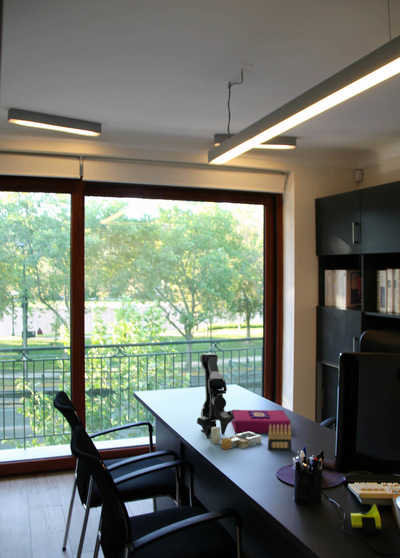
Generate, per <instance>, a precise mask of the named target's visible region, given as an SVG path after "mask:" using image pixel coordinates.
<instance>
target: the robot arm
mask: <svg viewBox="0 0 400 558" xmlns="http://www.w3.org/2000/svg"><path fill="white" fill-rule="evenodd" d="M218 359H219V358H218V354H216V353H202V354H201V355H200V357H199V361H200V362H199V363H201V368H202V369H203V371H204V385H205V386H204V387H205V388H204V389H205V391H204V392H205V401H204V403H203V404H202V408H201V411H200V417H197V420H196V424H198V425H199V426H201V428H202V429H200V431H201V432H203V433H204V435H205V436H206V439H208V440H209V439H210V436H211V428H212V427H217V421H219V425H220V434H221V435H222V436H225V432H226V430H227V428H228V426H229V424H230V423H231V422H232V420H234V415H233V412H232V410H228V411H226V410H225V407H226V405H227V401H226V400H227V399H225V398H224V394H227V391H228V388H227V382H226V380H225V379H224V376H223V374H221V373H220V371H219V366H218V362H219V360H218Z"/></svg>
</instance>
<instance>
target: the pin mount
mask: <svg viewBox="0 0 400 558" xmlns="http://www.w3.org/2000/svg"><path fill="white" fill-rule="evenodd" d="M232 438H236V435H233V436H229V439H232ZM237 438H238V437H237ZM238 447H239V448H240V447H241V449H245V448H247V447H248V446H247V440H244V439H242V440H239V446H238ZM244 447H245V448H244Z"/></svg>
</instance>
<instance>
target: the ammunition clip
mask: <svg viewBox="0 0 400 558" xmlns="http://www.w3.org/2000/svg"><path fill="white" fill-rule="evenodd" d="M291 427H292V425H291V426H290V424H289V426H288V434H287V426H286V424H285V427H284V434H283V425H282V424H281V428H280V433H279V424H277V430H276V432H275V424H274V425H273V432H272V427H271V424H270V426H269V433H268V435H267V437H268V439H267V450H268V451H269V450H270V451H271V452H273V451H275V452H276V451H279V452H281V451H288V452H289V451H292V431H291V430H292V428H291Z"/></svg>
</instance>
